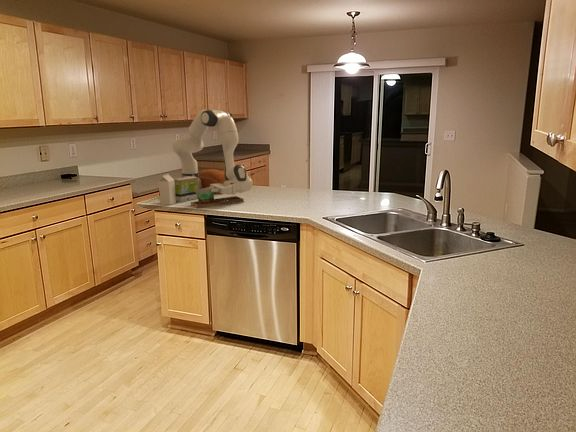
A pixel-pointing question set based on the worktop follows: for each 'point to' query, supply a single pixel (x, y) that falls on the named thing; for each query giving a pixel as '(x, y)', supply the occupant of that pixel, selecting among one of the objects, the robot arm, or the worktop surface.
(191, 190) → the tea box
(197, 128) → the robot arm
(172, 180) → the milk carton
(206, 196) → the food container
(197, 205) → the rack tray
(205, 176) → the bread
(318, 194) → the worktop surface
